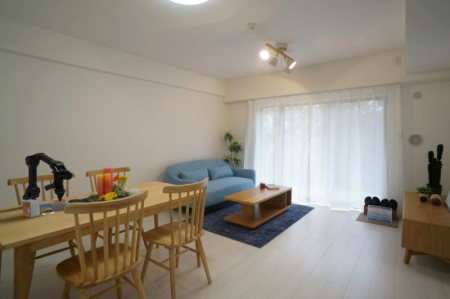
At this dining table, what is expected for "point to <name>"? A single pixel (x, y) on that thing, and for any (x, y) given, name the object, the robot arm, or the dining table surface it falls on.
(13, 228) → the dining table surface
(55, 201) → the terracotta brick
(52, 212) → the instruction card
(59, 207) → the charcoal base brick
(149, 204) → the dining table surface
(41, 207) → the slate brick
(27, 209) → the small box
